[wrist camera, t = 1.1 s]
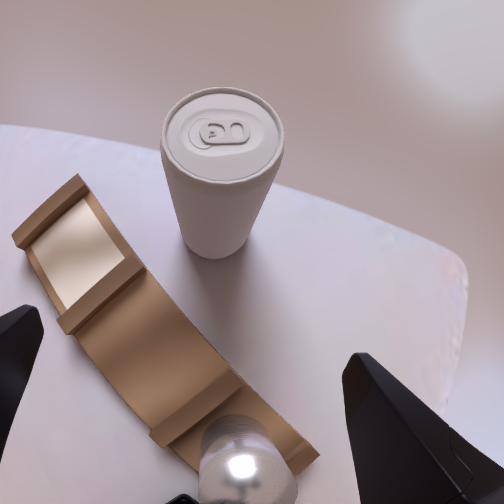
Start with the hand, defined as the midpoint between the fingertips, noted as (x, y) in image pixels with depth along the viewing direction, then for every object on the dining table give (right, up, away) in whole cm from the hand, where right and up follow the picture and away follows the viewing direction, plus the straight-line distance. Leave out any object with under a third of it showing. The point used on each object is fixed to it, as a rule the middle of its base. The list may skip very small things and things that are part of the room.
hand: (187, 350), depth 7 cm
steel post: (+1, -10, +10) cm, 14 cm away
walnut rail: (-5, -4, +12) cm, 14 cm away
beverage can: (-1, +4, +15) cm, 15 cm away
